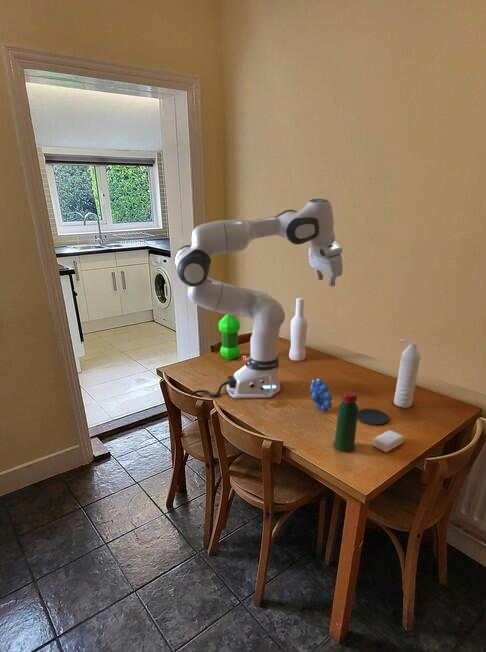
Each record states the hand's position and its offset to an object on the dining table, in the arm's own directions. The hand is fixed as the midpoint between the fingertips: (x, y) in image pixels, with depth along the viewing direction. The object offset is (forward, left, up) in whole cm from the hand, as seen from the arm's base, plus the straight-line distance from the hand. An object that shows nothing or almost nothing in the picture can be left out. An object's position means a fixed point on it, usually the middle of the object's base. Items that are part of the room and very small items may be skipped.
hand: (326, 282), depth 156 cm
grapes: (-9, -21, -43) cm, 49 cm away
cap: (-10, -46, -25) cm, 53 cm away
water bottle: (+24, -23, -43) cm, 55 cm away
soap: (+4, -48, -43) cm, 65 cm away
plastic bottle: (-31, +40, -43) cm, 67 cm away
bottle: (+1, +31, -43) cm, 53 cm away
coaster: (+8, -31, -43) cm, 54 cm away
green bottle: (-10, -46, -43) cm, 64 cm away
